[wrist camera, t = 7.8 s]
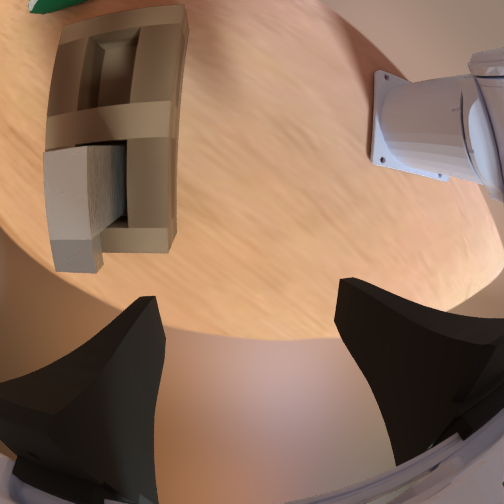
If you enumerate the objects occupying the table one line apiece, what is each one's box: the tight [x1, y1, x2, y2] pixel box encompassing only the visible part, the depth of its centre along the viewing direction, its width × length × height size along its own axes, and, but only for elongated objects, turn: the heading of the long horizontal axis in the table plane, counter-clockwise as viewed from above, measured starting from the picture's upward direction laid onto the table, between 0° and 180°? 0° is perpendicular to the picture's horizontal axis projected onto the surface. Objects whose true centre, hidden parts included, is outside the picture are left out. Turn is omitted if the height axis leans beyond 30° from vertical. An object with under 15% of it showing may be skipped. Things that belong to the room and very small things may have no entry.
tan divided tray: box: [45, 4, 189, 253], centre depth 14 cm, size 8×15×4 cm, turn 176°
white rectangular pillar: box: [43, 146, 128, 273], centre depth 13 cm, size 2×6×7 cm, turn 175°
